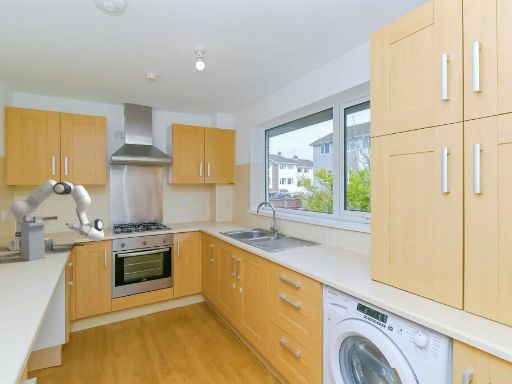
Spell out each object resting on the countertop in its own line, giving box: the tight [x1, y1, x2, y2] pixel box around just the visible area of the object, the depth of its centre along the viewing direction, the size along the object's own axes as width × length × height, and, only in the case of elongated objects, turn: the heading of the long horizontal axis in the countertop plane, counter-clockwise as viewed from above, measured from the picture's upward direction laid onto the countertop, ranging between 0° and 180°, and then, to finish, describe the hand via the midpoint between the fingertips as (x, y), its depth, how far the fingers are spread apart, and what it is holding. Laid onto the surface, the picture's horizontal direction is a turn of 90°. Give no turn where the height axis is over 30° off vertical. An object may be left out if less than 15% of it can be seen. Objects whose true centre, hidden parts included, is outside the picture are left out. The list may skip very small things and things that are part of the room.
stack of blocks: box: [18, 237, 54, 256], centre depth 216 cm, size 21×6×12 cm, turn 166°
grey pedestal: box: [17, 220, 50, 262], centre depth 198 cm, size 18×12×26 cm, turn 61°
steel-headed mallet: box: [23, 213, 59, 223], centre depth 202 cm, size 5×20×5 cm, turn 151°
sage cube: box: [33, 215, 43, 223], centre depth 195 cm, size 4×4×4 cm
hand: (69, 224), depth 219 cm, fingers open, 8 cm apart
